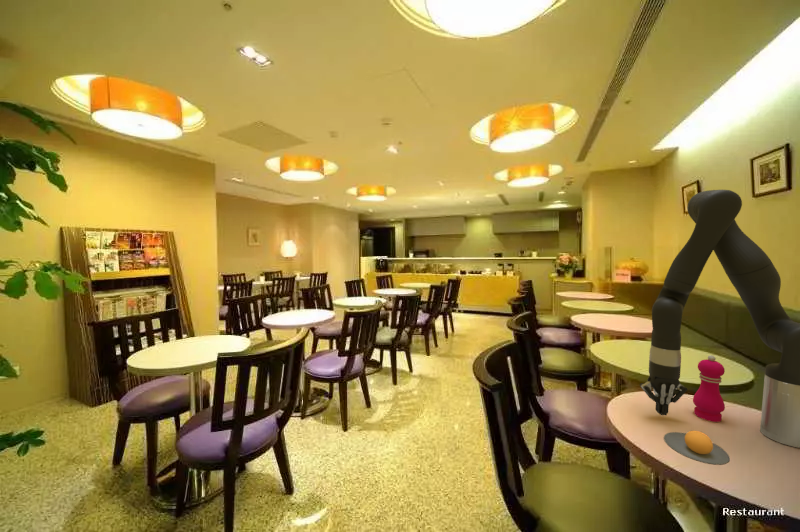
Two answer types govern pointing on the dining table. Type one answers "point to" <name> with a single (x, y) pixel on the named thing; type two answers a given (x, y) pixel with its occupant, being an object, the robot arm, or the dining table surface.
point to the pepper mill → (709, 391)
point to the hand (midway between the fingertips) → (661, 413)
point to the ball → (698, 442)
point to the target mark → (679, 445)
